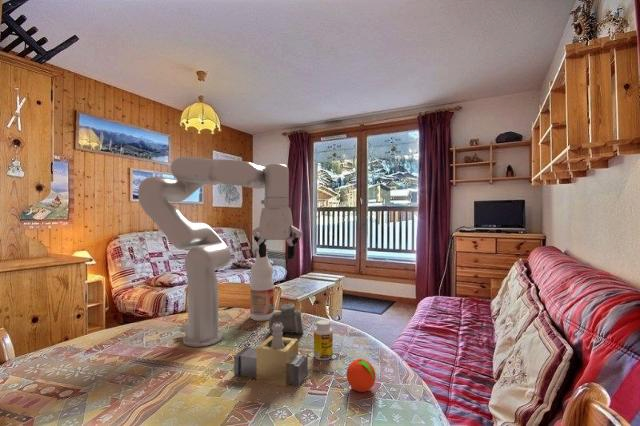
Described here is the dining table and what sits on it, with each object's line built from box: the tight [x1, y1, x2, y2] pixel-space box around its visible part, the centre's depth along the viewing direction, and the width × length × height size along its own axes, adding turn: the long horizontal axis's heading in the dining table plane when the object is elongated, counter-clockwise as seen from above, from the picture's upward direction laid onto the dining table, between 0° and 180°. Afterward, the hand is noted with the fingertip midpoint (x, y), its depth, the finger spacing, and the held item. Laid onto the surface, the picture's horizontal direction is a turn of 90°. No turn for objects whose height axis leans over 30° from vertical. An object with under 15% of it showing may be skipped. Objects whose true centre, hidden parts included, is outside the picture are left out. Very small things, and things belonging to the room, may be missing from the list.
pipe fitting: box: [268, 302, 304, 334], centre depth 110 cm, size 12×8×10 cm
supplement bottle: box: [313, 319, 334, 361], centre depth 92 cm, size 6×6×10 cm
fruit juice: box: [249, 247, 275, 322], centre depth 127 cm, size 9×9×28 cm
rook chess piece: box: [271, 322, 285, 349], centre depth 81 cm, size 4×4×8 cm
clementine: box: [346, 358, 376, 393], centre depth 74 cm, size 8×7×7 cm
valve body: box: [233, 335, 309, 388], centre depth 81 cm, size 18×8×8 cm, turn 72°
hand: (276, 257), depth 98 cm, fingers open, 9 cm apart
